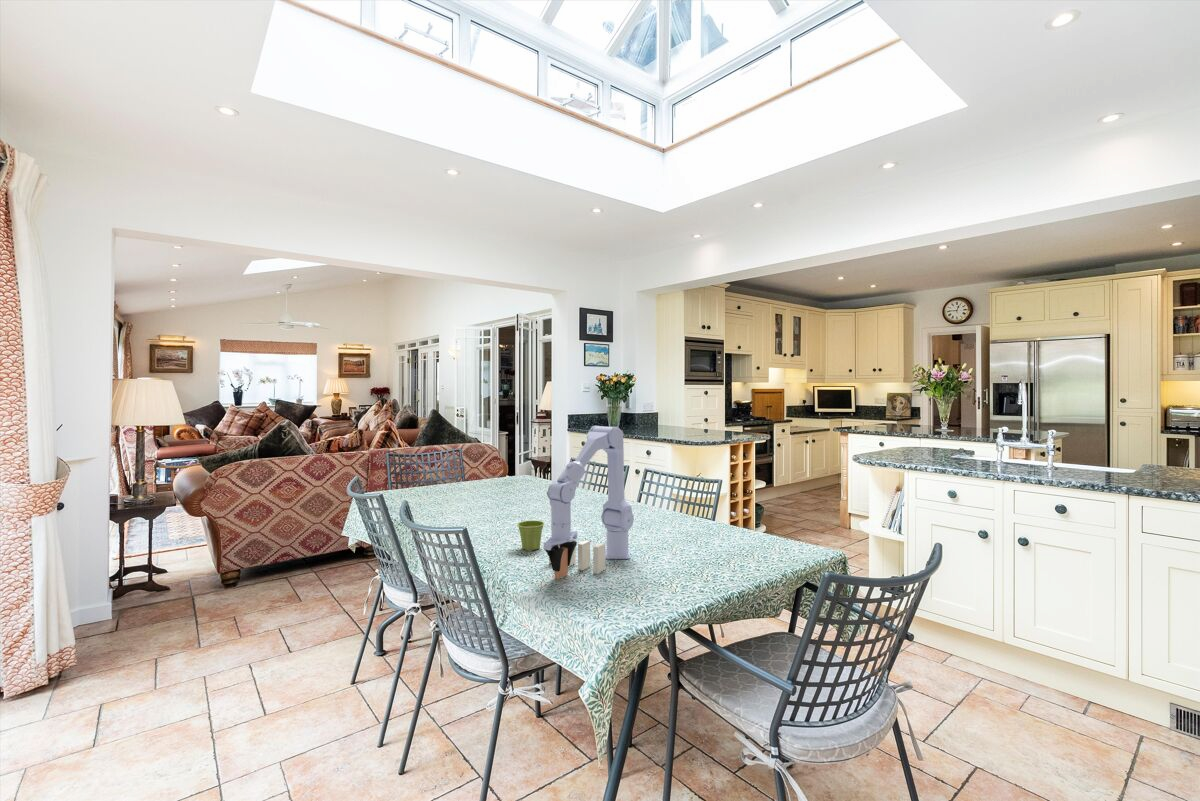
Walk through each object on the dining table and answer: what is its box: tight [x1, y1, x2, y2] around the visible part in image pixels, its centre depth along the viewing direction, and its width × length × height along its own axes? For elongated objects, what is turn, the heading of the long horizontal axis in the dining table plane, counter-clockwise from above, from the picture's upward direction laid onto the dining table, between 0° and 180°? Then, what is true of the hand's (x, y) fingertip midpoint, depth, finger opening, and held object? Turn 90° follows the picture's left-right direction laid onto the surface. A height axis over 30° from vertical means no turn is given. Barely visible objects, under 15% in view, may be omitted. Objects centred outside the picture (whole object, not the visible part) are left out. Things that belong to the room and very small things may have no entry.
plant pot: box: [517, 520, 545, 551], centre depth 187 cm, size 9×9×9 cm
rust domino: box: [554, 547, 569, 580], centre depth 159 cm, size 2×4×8 cm, turn 149°
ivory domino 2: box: [577, 540, 591, 571], centre depth 167 cm, size 2×4×8 cm, turn 149°
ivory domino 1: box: [569, 539, 577, 567], centre depth 169 cm, size 2×4×8 cm, turn 149°
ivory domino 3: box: [592, 542, 606, 574], centre depth 164 cm, size 2×4×8 cm, turn 149°
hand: (561, 568), depth 159 cm, fingers closed on rust domino, 4 cm apart
